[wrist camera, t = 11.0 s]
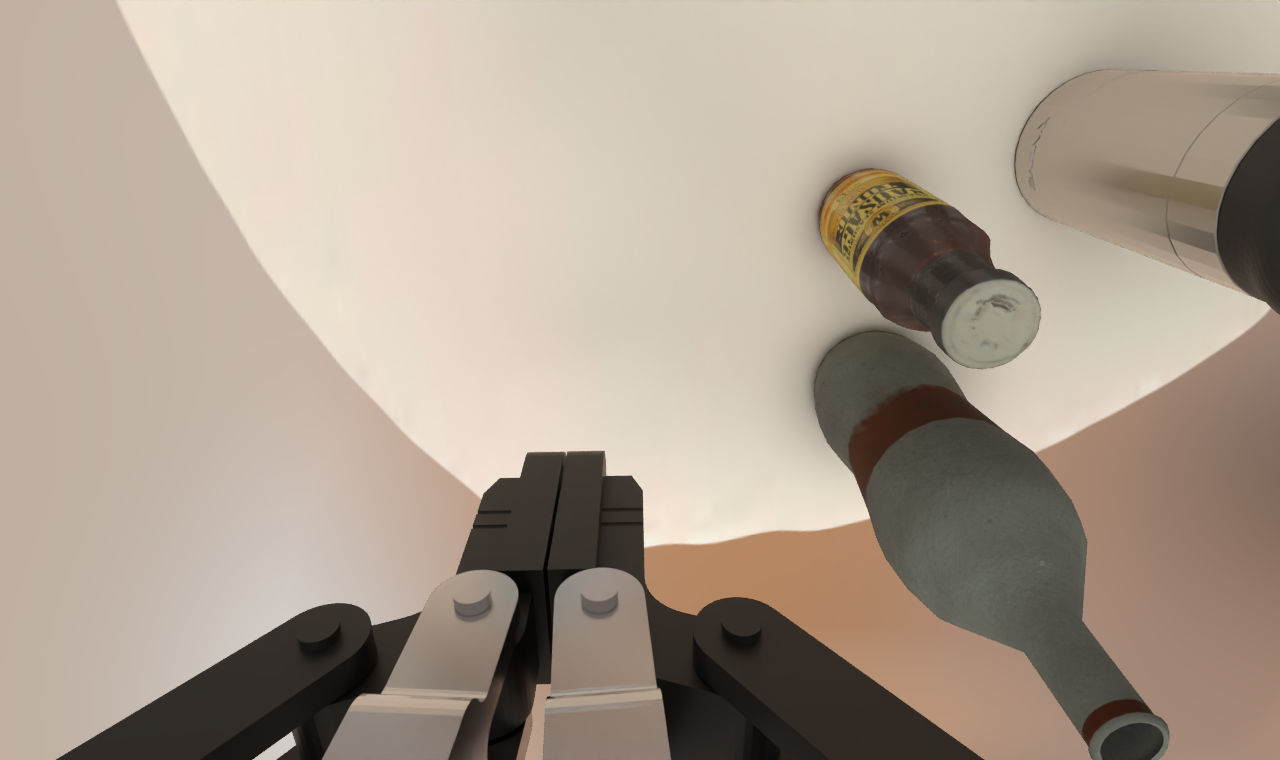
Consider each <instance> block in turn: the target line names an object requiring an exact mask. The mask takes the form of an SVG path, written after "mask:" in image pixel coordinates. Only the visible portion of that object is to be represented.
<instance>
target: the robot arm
mask: <svg viewBox="0 0 1280 760" xmlns="http://www.w3.org/2000/svg"><path fill="white" fill-rule="evenodd" d="M1015 169H1016V177H1017V182H1018V185H1019V188H1020V190H1021V193H1022V195H1023V197H1024V198H1025V199H1026V201H1027V202H1028V204H1029V205H1030V206H1031V207H1032V208H1033V209H1035V210H1036V211H1037V212H1038V213H1039V214H1041V215H1043V216H1046V217H1048V218H1050V219H1052V220H1055V221H1057V222H1060V223H1062V224H1065V225H1068V226H1070V227H1073V228H1075V229H1078V230H1080V231H1082V232H1085V233H1087V234H1090V235H1093V236H1095V237H1098V238H1100V239H1103V240H1106V241H1108V242H1111V243H1113V244H1116V245H1119V246H1121V247H1124V248H1126V249H1129V250H1132V251H1134V252H1137V253H1139V254H1142V255H1144V256H1147V257H1150V258H1152V259H1155V260H1157V261H1160V262H1163V263H1165V264H1168V265H1170V266H1173V267H1176V268H1178V269H1181V270H1183V271H1186V272H1189V273H1191V274H1194V275H1196V276H1199V277H1202V278H1205V279H1208V280H1210V281H1213V282H1216V283H1218V284H1221V285H1223V286H1226V287H1229V288H1231V289H1234V290H1236V291H1239V292H1241V293H1244V294H1247V295H1249V296H1252V297H1255V298H1257V299H1259V300H1262V301H1264V302H1266V303H1267V304H1268V305H1269V306H1270V307H1271V308H1272V309H1273V310H1275V311H1276V312H1277V313H1278V314H1280V74H1261V73H1220V72H1178V71H1150V70H1099V71H1095V72H1090V73H1086V74H1083V75H1081V76H1078V77H1076V78H1074V79H1072V80H1069V81H1068V82H1066V83H1065V84H1063V85H1062V86H1060V87H1059V88H1057V89H1056V90H1054V91H1053V92H1052V93H1051V94H1050V95H1049V96H1048V97H1047V98H1046V99H1045V100H1044V101H1043V102H1042V103H1041V104H1040V105H1039V106H1038V108H1037V109H1036V110H1035V112H1034V113H1033V114H1032V116H1031V117H1030V118H1029V120H1028V122H1027V124H1026V126H1025V128H1024V130H1023V132H1022V134H1021V137H1020V141H1019V144H1018V148H1017V152H1016V163H1015ZM536 684H551V693H550V696H549V697H547V699H546V705H545V706H546V707H545V722H544V744H543V745H544V746H543V760H984V759H982V758H981V757H980V756H978V755H977V754H976V753H974V752H973V751H971V750H970V749H969V748H967V747H966V746H964V745H963V744H961V743H960V742H959V741H957V740H956V739H955V738H953V737H952V736H950V735H949V734H947V733H946V732H945V731H943V730H942V729H941V728H939V727H938V726H936V725H935V724H934V723H932V722H931V721H929V720H928V719H927V718H925V717H924V716H922V715H921V714H920V713H918V712H917V711H915V710H914V709H913V708H911V707H910V706H909V705H907V704H906V703H904V702H903V701H902V700H900V699H899V698H897V697H896V696H895V695H893V694H892V693H891V692H889V691H888V690H886V689H885V688H884V687H882V686H881V685H879V684H878V683H877V682H875V681H874V680H872V679H871V678H870V677H868V676H867V675H865V674H864V673H863V672H861V671H860V670H858V669H857V668H856V667H854V666H853V665H852V664H850V663H849V662H847V661H846V660H845V659H843V658H842V657H840V656H839V655H838V654H836V653H835V652H833V651H832V650H831V649H829V648H828V647H826V646H825V645H824V644H822V643H821V642H819V641H818V640H817V639H815V638H814V637H813V636H811V635H809V634H808V633H807V632H805V631H804V630H803V629H801V628H800V627H799V626H797V625H796V624H794V623H793V622H792V621H790V620H789V619H787V618H786V617H785V616H783V615H782V614H780V613H779V612H778V611H776V610H775V609H773V608H772V607H770V606H769V605H767V604H764V603H762V602H760V601H757V600H753V599H749V598H741V597H733V598H724V599H720V600H717V601H714V602H712V603H710V604H708V605H707V606H705V607H704V608H703V609H702V610H701V611H700V612H699V613H698V615H697V616H695V615H691V614H687V613H683V612H680V611H676V610H673V609H671V608H669V607H667V606H665V605H663V604H662V603H660V602H659V601H658V600H656V599H655V598H654V597H653V596H652V595H651V593H650V592H649V590H648V589H647V586H646V584H645V579H644V531H643V490H642V489H641V488H640V486H639V485H638V484H637V482H636V481H635V480H634V478H633V477H632V476H606V459H605V451H572V452H567V456H566V453H565V452H528V453H527V455H526V458H525V462H524V465H523V469H522V473H521V476H520V478H500V479H499V480H498V481H497V482H495V483H494V484H493V485H492V486H491V487H490V488H489V489H488V490H487V491H486V492H485V493H484V495H483V497H482V500H481V503H480V506H479V509H478V514H477V515H476V518H475V521H474V523H473V529H471V533H470V535H469V538H468V541H467V544H466V547H465V550H464V552H463V555H462V558H461V561H460V564H459V567H458V570H457V573H456V575H455V576H453V577H451V578H449V579H447V580H445V581H444V582H442V583H441V584H440V585H439V586H437V587H436V588H435V590H434V591H433V592H432V593H431V595H430V596H429V598H428V600H427V602H426V604H425V606H424V608H423V610H422V611H421V612H419V613H417V614H414V615H412V616H408V617H405V618H401V619H398V620H393V621H389V622H385V623H381V624H378V625H373V626H372V625H371V621H370V617H369V616H368V614H367V613H366V612H365V611H364V610H363V609H361V608H360V607H357V606H355V605H352V604H345V603H335V604H327V605H323V606H318V607H315V608H312V609H309V610H307V611H305V612H302V613H301V614H299V615H297V616H295V617H293V618H292V619H290V620H288V621H287V622H285V623H283V624H282V625H280V626H278V627H277V628H275V629H273V630H272V631H270V632H268V633H267V634H265V635H263V636H262V637H260V638H258V639H257V640H255V641H253V642H252V643H250V644H248V645H247V646H245V647H243V648H242V649H240V650H238V651H237V652H235V653H234V654H232V655H230V656H228V657H227V658H225V659H223V660H222V661H220V662H219V663H217V664H215V665H213V666H212V667H210V668H208V669H207V670H205V671H203V672H202V673H200V674H198V675H197V676H195V677H194V678H192V679H190V680H188V681H187V682H185V683H183V684H182V685H180V686H178V687H177V688H175V689H173V690H172V691H170V692H168V693H167V694H165V695H163V696H162V697H160V698H158V699H157V700H155V701H153V702H152V703H150V704H148V705H147V706H145V707H143V708H142V709H140V710H138V711H136V712H135V713H133V714H131V715H130V716H128V717H126V718H125V719H123V720H122V721H120V722H118V723H117V724H115V725H113V726H112V727H110V728H108V729H106V730H105V731H103V732H101V733H100V734H98V735H96V736H95V737H93V738H91V739H90V740H88V741H86V742H85V743H83V744H81V745H80V746H78V747H76V748H75V749H73V750H71V751H70V752H68V753H66V754H65V755H63V756H61V757H60V758H58V759H56V760H252V759H254V758H255V757H257V756H258V755H259V754H261V753H262V752H263V751H265V750H266V749H267V748H269V747H271V746H272V745H273V744H275V743H276V742H277V741H279V740H280V739H282V738H283V737H285V736H286V735H287V734H289V733H290V732H291V731H292V733H293V736H294V739H295V743H296V746H294V747H293V748H292V749H290V750H289V751H288V752H286V753H285V754H284V755H282V756H281V757H279V758H278V759H277V760H525V756H526V752H527V747H528V743H529V739H530V735H531V731H532V724H533V723H532V712H531V710H532V707H533V703H534V697H535V691H536Z"/></svg>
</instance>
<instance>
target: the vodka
mask: <svg viewBox="0 0 1280 760" xmlns="http://www.w3.org/2000/svg"><path fill="white" fill-rule="evenodd" d="M814 398H815V409H816V413H817V417H818V421H819V425H820V428H821V430H822V432H823V434H824V436H825V438H826V440H827V443H828V444H829V445H830V447H831V448H832V449H833V450H834V452H835V453H836V454H837V455H838V457H839V458H840V459H841V460H842V461H843V463H844V464H845V465H846V466H847V467H848V468H849V469H850V470H851V472H852V473H853V474H854V475H855V478H856V481H857V483H858V486H859V488H860V491H861V494H862V496H863V499H864V501H865V504H866V507H867V509H868V512H869V515H870V519H871V522H872V525H873V528H874V531H875V535H876V538H877V540H878V543H879V545H880V547H881V549H882V551H883V553H884V556H885V558H886V560H887V561H888V562H889V564H890V565H891V567H892V568H893V569H894V571H895V572H896V573H897V575H898V576H899V578H900V579H901V580H902V582H903V583H904V585H905V586H906V587H907V589H908V590H909V591H911V592H912V593H913V594H914V595H915V596H916V597H917V598H918V599H919V600H920V601H921V602H922V603H923V604H924V605H925V606H926V607H927V608H929V609H930V610H931V611H932V612H933V613H934V614H935V615H936V616H937V617H938V618H939V619H942V620H944V621H946V622H948V623H951V624H953V625H955V626H958V627H960V628H963V629H965V630H968V631H971V632H973V633H976V634H978V635H981V636H983V637H986V638H988V639H991V640H994V641H996V642H999V643H1001V644H1004V645H1006V646H1009V647H1012V648H1014V649H1017V650H1020V651H1022V652H1024V653H1025V654H1026V656H1027V657H1028V659H1029V660H1030V662H1031V663H1032V665H1033V666H1034V667H1035V669H1036V670H1037V672H1038V673H1039V675H1040V676H1041V678H1042V679H1043V681H1044V682H1045V683H1046V685H1047V686H1048V688H1049V689H1050V691H1051V692H1052V694H1053V695H1054V697H1055V698H1056V700H1057V701H1058V703H1059V704H1060V706H1061V707H1062V708H1063V710H1064V711H1065V713H1066V714H1067V716H1068V717H1069V719H1070V720H1071V721H1072V723H1073V725H1074V726H1075V727H1076V729H1077V730H1078V732H1079V733H1080V735H1081V736H1082V738H1083V739H1084V741H1085V742H1086V743H1087V745H1088V747H1089V753H1090V756H1091V758H1092V759H1093V760H1159V759H1160V758H1161V757H1162V756H1163V755H1164V753H1165V752H1166V750H1167V748H1168V744H1169V729H1168V726H1167V724H1166V723H1165V722H1164V720H1163V719H1162V718H1160V717H1158V716H1156V715H1154V714H1153V713H1152V711H1151V710H1150V709H1149V707H1148V706H1147V705H1146V703H1145V702H1144V701H1143V700H1142V698H1141V697H1140V696H1139V694H1138V693H1137V692H1136V691H1135V689H1134V688H1133V687H1132V685H1131V684H1130V683H1129V681H1128V680H1127V679H1126V677H1125V676H1124V675H1123V674H1122V672H1121V671H1120V670H1119V668H1118V667H1117V666H1116V664H1115V663H1114V662H1113V661H1112V659H1111V658H1110V657H1109V655H1108V654H1107V653H1106V651H1105V650H1104V649H1103V647H1102V646H1101V645H1100V644H1099V642H1098V641H1097V640H1096V638H1095V637H1094V636H1093V634H1092V633H1091V632H1090V631H1089V629H1088V628H1087V627H1086V625H1085V624H1084V623H1083V622H1082V613H1083V599H1084V583H1085V568H1086V554H1087V539H1086V536H1085V533H1084V530H1083V527H1082V524H1081V521H1080V519H1079V516H1078V514H1077V512H1076V509H1075V507H1074V505H1073V503H1072V500H1071V499H1070V498H1069V496H1068V495H1067V493H1066V492H1065V491H1064V489H1063V488H1062V487H1061V485H1060V484H1059V483H1058V481H1057V480H1056V479H1055V477H1054V476H1053V474H1052V473H1051V472H1050V470H1049V469H1048V468H1047V467H1046V466H1045V465H1044V463H1043V462H1042V461H1041V460H1040V459H1039V458H1038V457H1037V455H1036V454H1035V453H1034V452H1033V451H1032V450H1030V449H1029V448H1028V447H1026V446H1025V445H1023V444H1022V443H1020V442H1019V441H1018V440H1016V439H1015V438H1013V437H1012V436H1011V435H1009V434H1008V433H1006V432H1005V431H1004V430H1002V429H1001V428H1000V427H999V426H997V425H996V424H995V423H994V422H993V421H991V420H990V419H989V418H988V417H986V416H985V415H984V414H983V413H981V412H980V411H979V410H978V409H976V408H975V407H974V406H973V405H971V404H970V403H969V402H968V401H967V399H966V397H965V396H964V394H963V392H962V390H961V389H960V387H959V385H958V384H957V382H956V381H955V379H954V378H953V376H952V375H951V373H950V372H949V370H948V369H947V368H946V367H945V365H944V364H943V363H942V362H941V361H940V360H939V359H938V358H937V357H936V355H934V354H933V353H931V352H930V351H928V350H927V349H925V348H923V347H922V346H920V345H919V344H917V343H915V342H913V341H911V340H909V339H907V338H905V337H903V336H901V335H897V334H893V333H886V332H879V331H872V332H865V333H859V334H856V335H854V336H852V337H850V338H847V339H845V340H843V341H841V342H840V343H839V344H838V345H837V346H835V347H834V348H833V349H832V350H831V351H830V352H829V353H828V354H827V355H826V357H825V358H824V360H823V362H822V363H821V365H820V366H819V369H818V372H817V376H816V380H815V386H814Z"/></svg>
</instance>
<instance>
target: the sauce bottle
mask: <svg viewBox="0 0 1280 760" xmlns="http://www.w3.org/2000/svg"><path fill="white" fill-rule="evenodd" d="M819 221H820V222H819V223H820V231H821V237H822V240H823V242H824V245H825V246H826V248H827V250H828V251H829V252H830V254H831V255H832V256H833V257H834V259H835V260H836V261H837V262H838V264H839V265H840V266H841V268H842V269H843V270H844V271H845V273H846V274H847V275H848V276H849V278H850V279H851V280H852V281H853V283H854V284H855V285H856V286H857V287H858V289H859V290H860V291H861V292H862V293H863V294H864V296H865V297H866V298H867V299H868V300H869V301H870V302H871V303H873V304H874V305H875V306H876V308H877V309H878V310H879V311H880V313H881V314H882V315H883V317H884V318H886V319H888V320H890V321H892V322H894V323H896V324H897V325H900V326H902V327H905V328H907V329H912V330H918V331H924V332H929V331H931V332H932V335H933V338H934V340H935V342H936V343H937V345H938V346H939V347H940V349H942V350H943V351H944V352H945V354H947V355H948V356H949V357H950V358H951V359H952V360H954V361H955V362H957V363H958V364H960V365H963V366H965V367H968V368H977V369H986V368H994V367H997V366H1000V365H1003V364H1006V363H1008V362H1010V361H1012V360H1013V359H1014V358H1016V357H1017V356H1018V355H1019V354H1020V353H1021V352H1023V351H1024V350H1025V349H1026V348H1028V346H1029V345H1030V344H1031V343H1032V341H1033V340H1034V338H1035V336H1036V334H1037V332H1038V329H1039V322H1040V319H1041V317H1040V313H1041V308H1040V304H1039V302H1038V298H1037V297H1036V296H1035V294H1034V292H1033V291H1032V289H1031V288H1029V287H1028V286H1027V285H1026V284H1025V283H1024V282H1022V281H1021V280H1020V279H1019V278H1018V277H1017V276H1015V275H1014V274H1012V273H1010V272H1008V271H1004V270H1001V269H995V267H994V266H993V263H992V260H991V257H990V238H989V236H988V235H987V234H986V233H985V232H984V231H983V230H982V229H981V228H979V227H978V226H976V225H975V224H974V223H972V222H971V221H970V220H968V219H967V218H966V217H964V216H963V214H961V213H960V212H959V211H958V210H957V209H956V208H954V207H952V206H951V205H949V204H947V203H946V202H944V201H942V200H941V199H939V198H937V197H936V196H934V195H932V194H930V193H929V192H927V191H925V190H924V189H922V188H920V187H918V186H917V185H915V184H913V183H912V182H910V181H908V180H907V179H905V178H903V177H901V176H900V175H898V174H896V173H893V172H889V171H885V170H876V169H873V168H871V169H865V170H860V171H858V172H855V173H852V174H850V175H847V176H845V177H843V178H842V179H841V180H840V181H838V182H837V183H835V184H834V186H833V187H832V188H831V190H830V191H829V193H828V194H827V196H826V198H825V200H824V202H823V205H822V207H821V209H820V212H819Z"/></svg>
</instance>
